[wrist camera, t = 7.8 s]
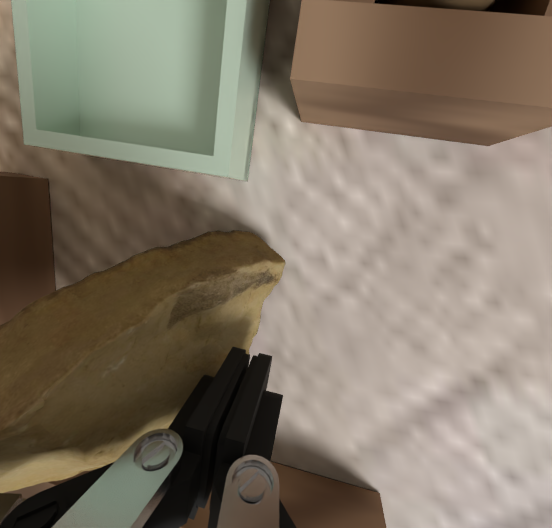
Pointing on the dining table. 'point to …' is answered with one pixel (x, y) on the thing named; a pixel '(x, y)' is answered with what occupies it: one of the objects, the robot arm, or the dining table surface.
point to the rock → (124, 352)
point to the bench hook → (41, 281)
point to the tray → (143, 80)
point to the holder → (425, 69)
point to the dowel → (445, 4)
